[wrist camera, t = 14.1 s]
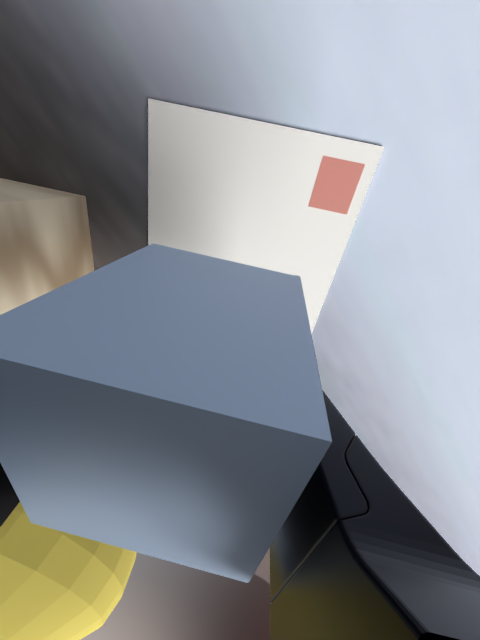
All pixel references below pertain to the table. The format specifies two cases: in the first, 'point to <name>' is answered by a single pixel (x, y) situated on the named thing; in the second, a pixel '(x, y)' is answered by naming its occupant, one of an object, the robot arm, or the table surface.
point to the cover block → (40, 241)
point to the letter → (255, 192)
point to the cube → (164, 407)
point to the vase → (56, 581)
